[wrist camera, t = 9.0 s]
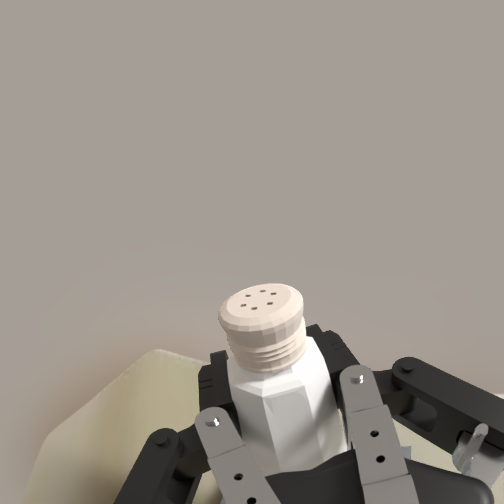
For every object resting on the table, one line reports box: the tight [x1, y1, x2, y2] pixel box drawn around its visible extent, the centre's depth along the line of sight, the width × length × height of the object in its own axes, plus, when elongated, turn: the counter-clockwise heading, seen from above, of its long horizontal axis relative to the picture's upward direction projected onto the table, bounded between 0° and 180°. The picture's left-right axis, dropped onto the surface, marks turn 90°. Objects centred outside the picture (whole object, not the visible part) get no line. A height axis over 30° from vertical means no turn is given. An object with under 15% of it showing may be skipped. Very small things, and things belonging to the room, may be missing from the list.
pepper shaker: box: [218, 284, 347, 477], centre depth 12 cm, size 5×5×11 cm
